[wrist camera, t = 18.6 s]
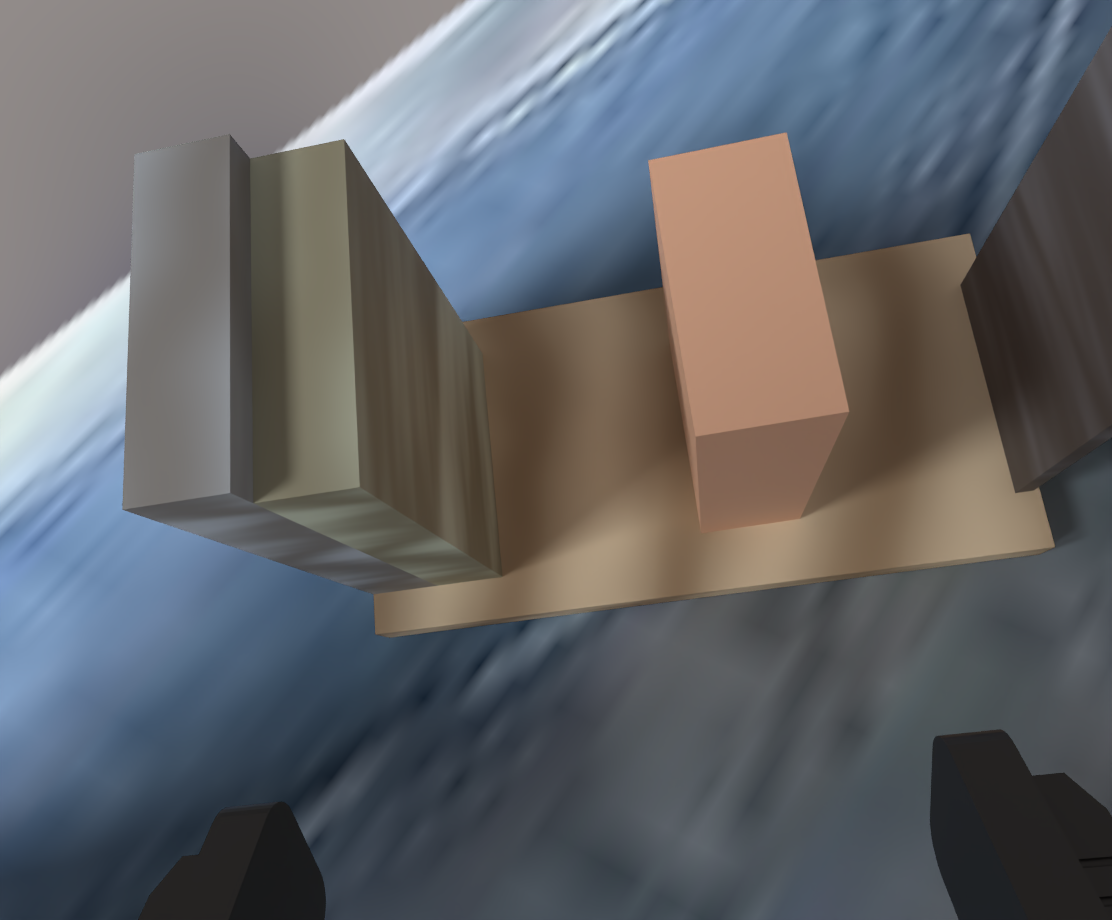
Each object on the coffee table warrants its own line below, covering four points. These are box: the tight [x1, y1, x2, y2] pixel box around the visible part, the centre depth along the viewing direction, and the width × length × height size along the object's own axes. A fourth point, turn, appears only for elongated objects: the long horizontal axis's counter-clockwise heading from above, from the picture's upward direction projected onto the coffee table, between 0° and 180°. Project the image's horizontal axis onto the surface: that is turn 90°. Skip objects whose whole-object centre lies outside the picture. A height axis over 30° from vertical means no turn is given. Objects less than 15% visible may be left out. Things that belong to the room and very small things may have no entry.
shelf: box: [122, 27, 1112, 638], centre depth 27 cm, size 24×12×16 cm, turn 96°
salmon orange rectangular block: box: [648, 133, 849, 533], centre depth 27 cm, size 4×8×12 cm, turn 7°
